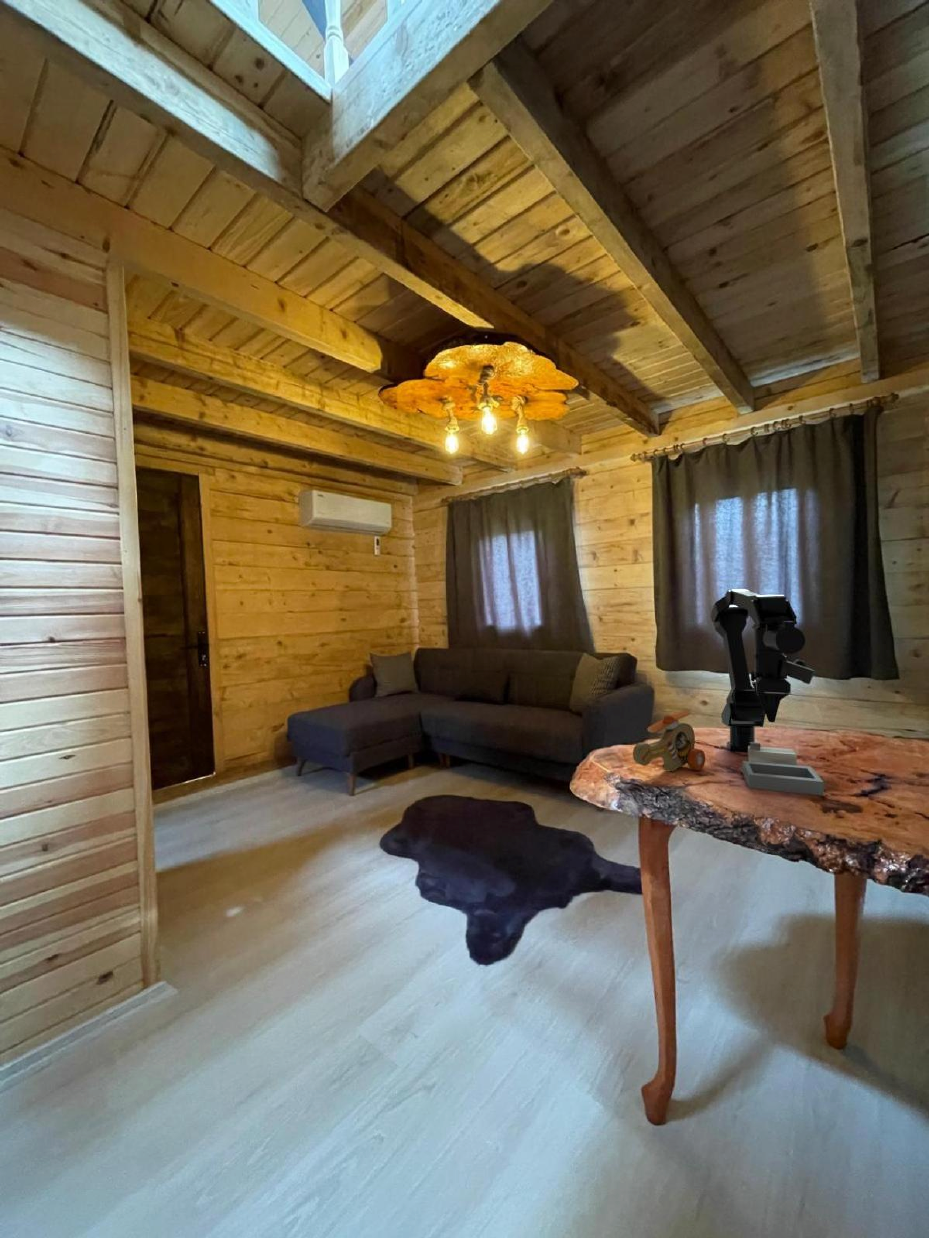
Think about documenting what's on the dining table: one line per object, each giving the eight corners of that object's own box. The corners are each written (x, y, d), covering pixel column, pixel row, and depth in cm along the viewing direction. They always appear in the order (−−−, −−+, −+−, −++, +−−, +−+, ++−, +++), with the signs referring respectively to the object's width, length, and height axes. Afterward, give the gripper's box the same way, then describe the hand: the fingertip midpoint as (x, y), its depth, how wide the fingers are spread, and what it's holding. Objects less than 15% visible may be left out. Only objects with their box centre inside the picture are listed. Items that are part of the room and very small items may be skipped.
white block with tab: (748, 764, 120) (748, 740, 119) (792, 768, 116) (792, 743, 116) (750, 770, 116) (750, 744, 116) (796, 774, 112) (796, 748, 112)
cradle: (742, 772, 114) (742, 760, 113) (810, 779, 109) (810, 766, 109) (749, 787, 105) (749, 774, 105) (823, 795, 100) (823, 781, 100)
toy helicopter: (708, 767, 117) (708, 709, 117) (653, 788, 106) (652, 723, 106) (677, 758, 124) (676, 703, 124) (621, 777, 113) (620, 716, 112)
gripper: (819, 654, 103) (820, 730, 103) (804, 646, 119) (804, 712, 120) (756, 653, 108) (757, 725, 108) (750, 646, 124) (750, 708, 125)
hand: (769, 717), depth 115 cm, fingers open, 9 cm apart
